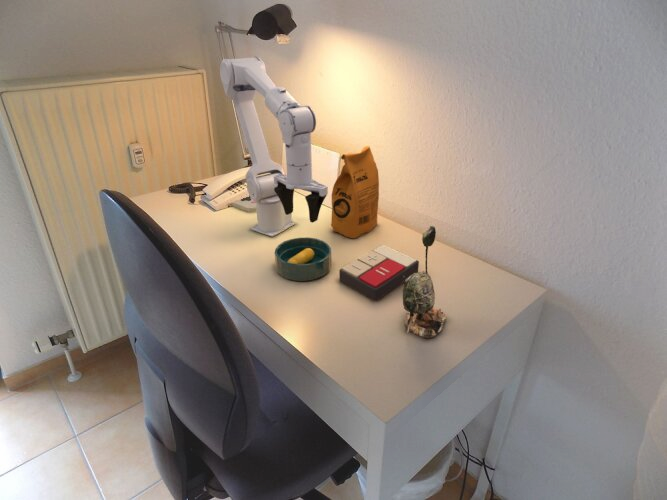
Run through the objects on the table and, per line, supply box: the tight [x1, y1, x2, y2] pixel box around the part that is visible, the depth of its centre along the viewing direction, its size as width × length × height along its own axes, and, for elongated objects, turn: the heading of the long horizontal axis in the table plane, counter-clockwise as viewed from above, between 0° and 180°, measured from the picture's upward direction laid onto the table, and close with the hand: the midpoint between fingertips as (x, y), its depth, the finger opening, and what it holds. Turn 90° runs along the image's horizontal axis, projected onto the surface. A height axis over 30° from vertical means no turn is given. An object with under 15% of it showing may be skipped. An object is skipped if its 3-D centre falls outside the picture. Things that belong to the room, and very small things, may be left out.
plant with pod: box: [402, 225, 447, 339], centre depth 79 cm, size 8×11×20 cm
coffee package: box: [330, 145, 380, 239], centre depth 115 cm, size 10×12×22 cm
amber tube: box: [288, 248, 314, 264], centre depth 101 cm, size 10×3×3 cm, turn 145°
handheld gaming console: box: [230, 196, 257, 213], centre depth 136 cm, size 10×2×15 cm
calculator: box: [338, 244, 420, 302], centre depth 97 cm, size 11×4×15 cm
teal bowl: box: [274, 236, 332, 282], centre depth 101 cm, size 13×13×4 cm
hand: (301, 217), depth 104 cm, fingers open, 7 cm apart
